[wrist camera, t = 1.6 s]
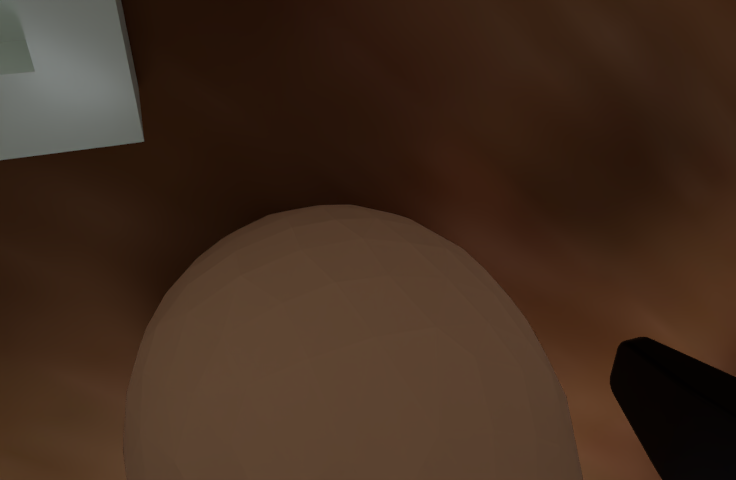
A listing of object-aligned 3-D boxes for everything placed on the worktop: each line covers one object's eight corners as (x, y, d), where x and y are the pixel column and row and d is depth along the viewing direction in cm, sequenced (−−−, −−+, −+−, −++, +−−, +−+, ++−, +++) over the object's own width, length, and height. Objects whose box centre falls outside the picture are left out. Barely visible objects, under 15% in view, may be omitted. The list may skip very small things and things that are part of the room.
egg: (410, 85, 11) (799, 433, 5) (452, 336, 15) (710, 728, 8) (57, 200, 10) (-30, 808, 4) (190, 437, 14) (257, 963, 7)
